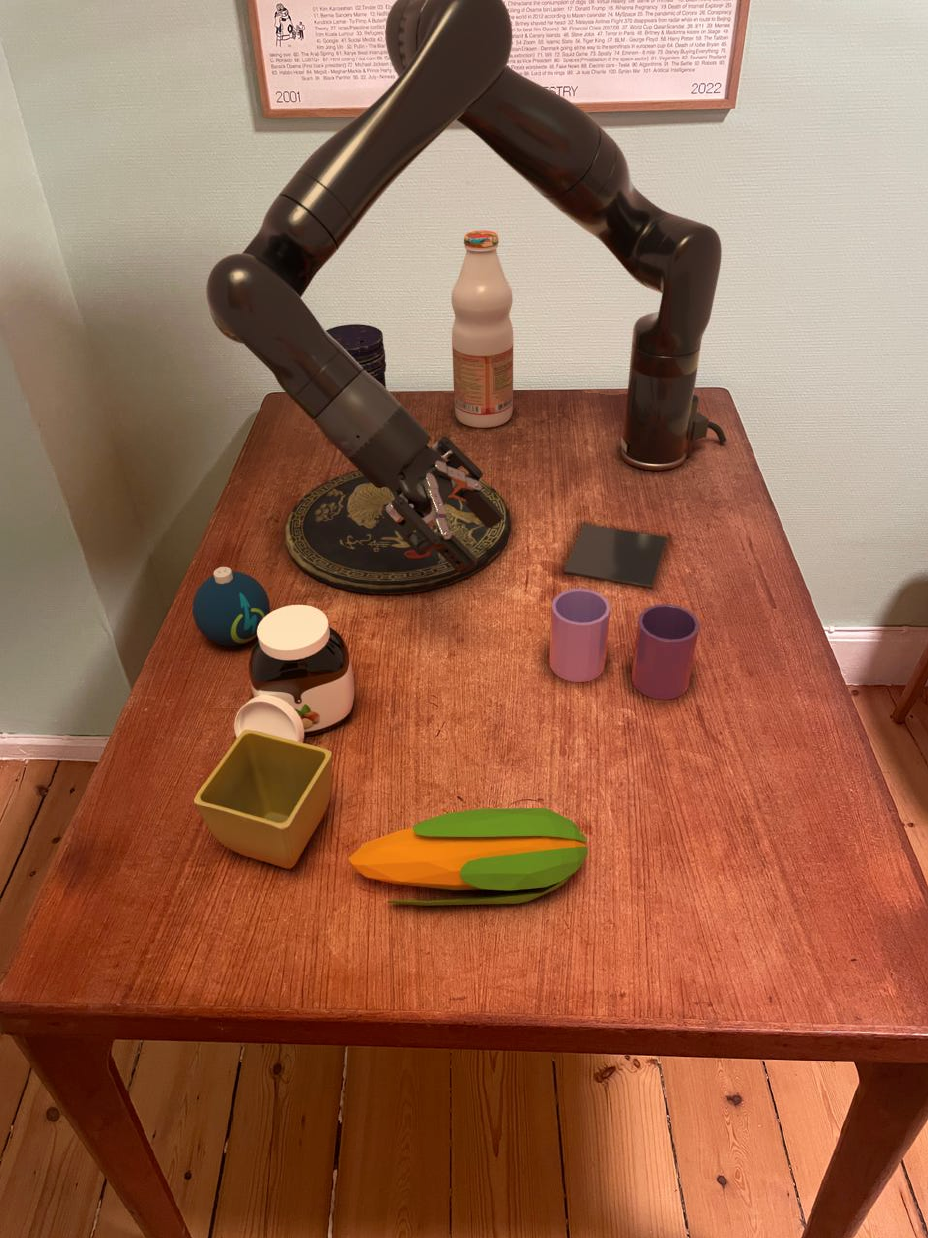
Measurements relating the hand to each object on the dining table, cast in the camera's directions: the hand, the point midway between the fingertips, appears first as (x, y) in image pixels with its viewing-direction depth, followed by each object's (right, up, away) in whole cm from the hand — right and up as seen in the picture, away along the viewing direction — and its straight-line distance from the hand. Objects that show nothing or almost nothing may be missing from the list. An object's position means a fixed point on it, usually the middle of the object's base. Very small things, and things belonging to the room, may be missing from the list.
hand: (484, 544), depth 92 cm
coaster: (+17, 0, +21) cm, 27 cm away
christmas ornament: (-28, -10, +11) cm, 32 cm away
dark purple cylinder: (-19, +23, +51) cm, 59 cm away
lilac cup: (+10, -13, +6) cm, 17 cm away
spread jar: (-19, -19, 0) cm, 27 cm away
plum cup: (+19, -14, +3) cm, 24 cm away
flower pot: (-19, -28, -11) cm, 35 cm away
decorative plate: (-11, +4, +28) cm, 30 cm away
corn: (-2, -30, -15) cm, 34 cm away
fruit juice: (+1, +25, +53) cm, 58 cm away
